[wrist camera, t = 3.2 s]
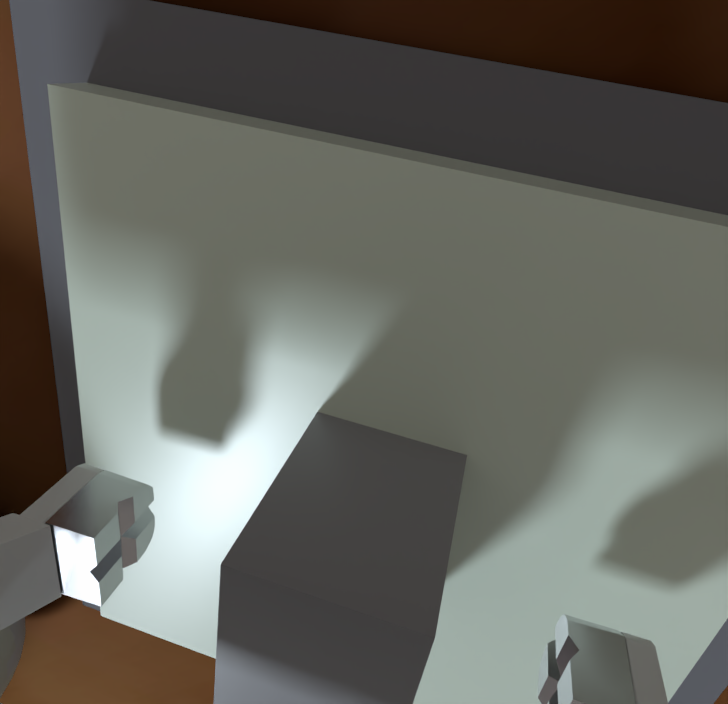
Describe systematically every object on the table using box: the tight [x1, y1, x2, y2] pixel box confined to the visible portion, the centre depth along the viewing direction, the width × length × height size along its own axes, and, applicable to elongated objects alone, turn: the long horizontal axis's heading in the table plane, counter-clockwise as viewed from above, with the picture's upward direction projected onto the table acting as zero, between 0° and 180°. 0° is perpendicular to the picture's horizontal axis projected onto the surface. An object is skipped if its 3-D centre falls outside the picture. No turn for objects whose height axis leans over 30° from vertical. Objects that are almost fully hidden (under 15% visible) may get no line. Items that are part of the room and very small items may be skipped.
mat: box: [9, 0, 728, 704], centre depth 13 cm, size 17×17×1 cm
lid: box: [47, 83, 728, 704], centre depth 11 cm, size 14×14×5 cm
